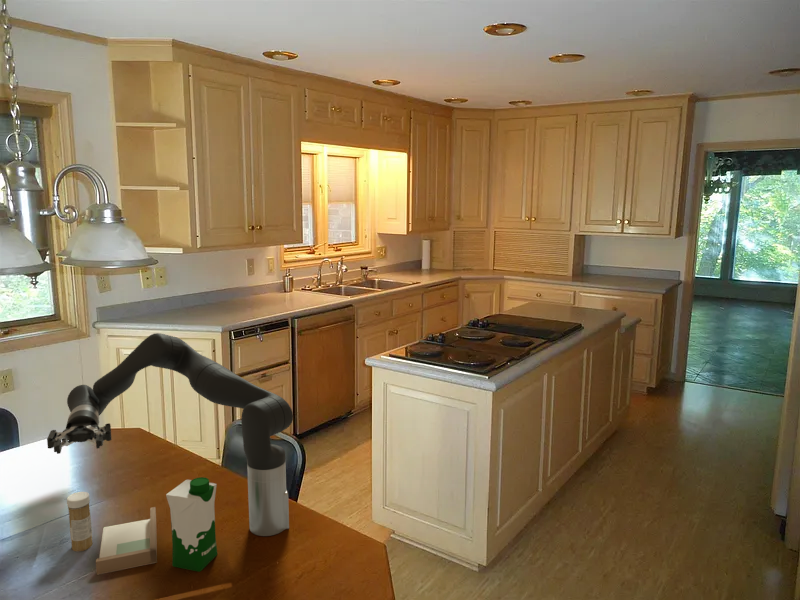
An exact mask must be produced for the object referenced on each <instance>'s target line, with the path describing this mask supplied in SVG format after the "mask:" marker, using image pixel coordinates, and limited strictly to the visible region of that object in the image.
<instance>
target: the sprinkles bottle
mask: <svg viewBox="0 0 800 600" xmlns="http://www.w3.org/2000/svg"><path fill="white" fill-rule="evenodd" d="M90 501H91V499H90V493H89V492H86V491H79V492H78V491H77V492H73V493H72V494H70V495H68V496H67V498H66V504H67V509H68V519H69V535H70V541H71V550H72V551H73V552H83V551H86V550H88V549H90V548H91V547H92V546H93V543H94V542H93V537H92V536H93V530H92V517H91V509H90Z"/></svg>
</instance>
